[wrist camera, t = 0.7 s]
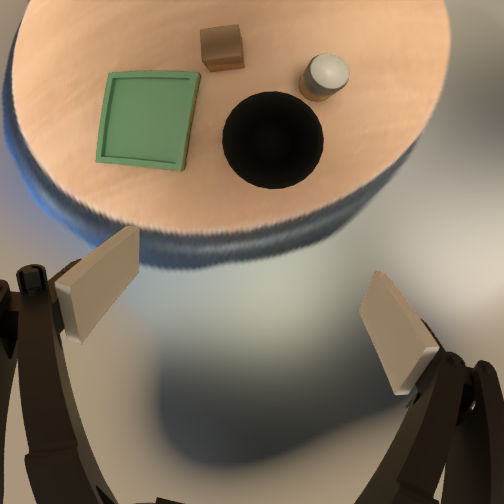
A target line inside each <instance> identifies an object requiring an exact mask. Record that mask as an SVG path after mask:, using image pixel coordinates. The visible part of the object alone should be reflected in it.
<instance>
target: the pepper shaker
mask: <svg viewBox="0 0 504 504" xmlns="http://www.w3.org/2000/svg"><path fill="white" fill-rule="evenodd" d="M348 79H349V69H348V66H347V64H346V63H345V62H344V60H342V59H341V58H340V57H338V56H336V55H334V54H329V53H326V54H321V55H318V56H316V57H314V58H313V59H312V60H311V61H310V63H309V64H308V66H307V68H306V70H305V71H304V73H303V75H302V77H301V78H300V81H299V89H300V91H301V93H302V94H303V96H304V97H306V98H307V99H309V100H311V101H315V102H320V101H324V100H326V99H327V98H329V97H330V96H331V95H333V94H334V93H336V92H337V91H339V90H340V89H342V88H343V87H344V86H345V85H346V84H347V82H348Z"/></svg>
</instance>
